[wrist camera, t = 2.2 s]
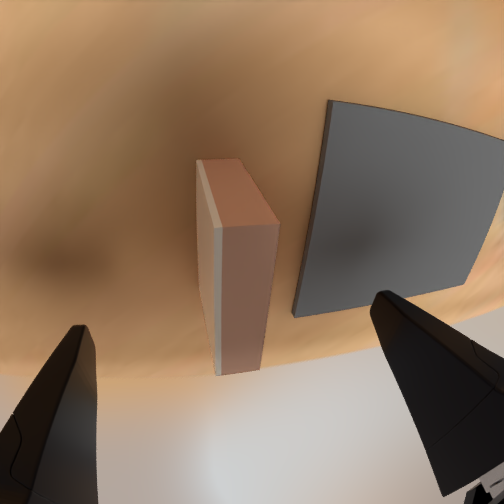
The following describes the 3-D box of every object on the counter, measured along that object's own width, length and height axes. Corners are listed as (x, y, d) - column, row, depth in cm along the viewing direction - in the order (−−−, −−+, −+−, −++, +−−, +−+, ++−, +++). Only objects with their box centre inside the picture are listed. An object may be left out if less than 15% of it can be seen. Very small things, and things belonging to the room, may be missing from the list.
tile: (198, 286, 15) (215, 376, 11) (196, 159, 11) (214, 227, 7) (232, 282, 15) (259, 369, 11) (238, 158, 12) (280, 223, 8)
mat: (291, 312, 17) (294, 318, 17) (328, 99, 11) (333, 101, 11) (460, 281, 20) (463, 284, 20) (512, 143, 14) (516, 146, 14)
